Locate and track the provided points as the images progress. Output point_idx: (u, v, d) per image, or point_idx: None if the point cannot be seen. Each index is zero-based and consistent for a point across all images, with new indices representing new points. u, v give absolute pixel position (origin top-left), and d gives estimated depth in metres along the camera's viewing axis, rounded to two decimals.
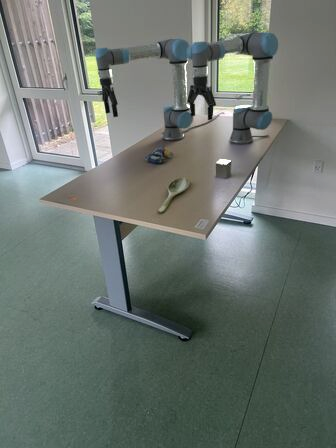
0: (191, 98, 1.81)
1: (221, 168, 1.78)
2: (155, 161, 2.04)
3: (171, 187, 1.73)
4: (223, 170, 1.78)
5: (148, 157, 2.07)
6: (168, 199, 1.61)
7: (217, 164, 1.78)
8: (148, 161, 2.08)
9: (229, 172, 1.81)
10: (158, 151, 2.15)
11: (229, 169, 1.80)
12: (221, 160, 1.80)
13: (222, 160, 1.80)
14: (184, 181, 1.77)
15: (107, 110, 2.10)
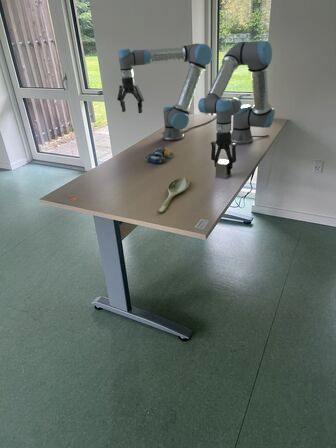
0: None
1: (221, 168, 1.78)
2: (155, 161, 2.04)
3: (171, 187, 1.73)
4: (223, 170, 1.78)
5: (148, 157, 2.07)
6: (168, 199, 1.61)
7: (217, 164, 1.78)
8: (148, 161, 2.08)
9: None
10: (158, 151, 2.15)
11: None
12: (221, 160, 1.80)
13: (222, 160, 1.80)
14: (184, 181, 1.77)
15: (123, 109, 2.20)
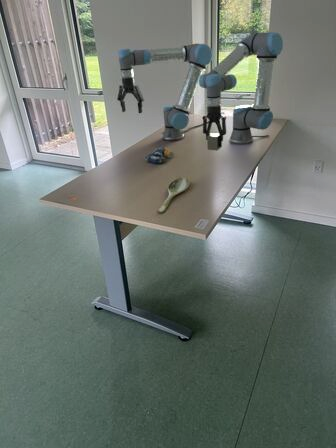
0: (207, 128, 1.91)
1: (213, 141, 1.91)
2: (155, 161, 2.04)
3: (171, 187, 1.73)
4: (214, 142, 1.91)
5: (148, 157, 2.07)
6: (168, 199, 1.61)
7: (208, 137, 1.91)
8: (148, 161, 2.08)
9: None
10: (158, 151, 2.15)
11: None
12: (213, 134, 1.93)
13: (213, 133, 1.93)
14: (184, 181, 1.77)
15: (123, 109, 2.20)
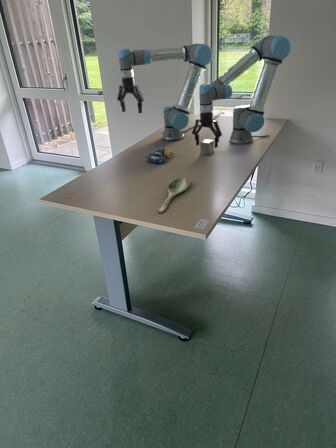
0: (197, 130, 2.09)
1: (205, 147, 2.10)
2: (155, 161, 2.04)
3: (171, 187, 1.73)
4: (206, 148, 2.10)
5: (148, 157, 2.07)
6: (168, 199, 1.61)
7: (201, 143, 2.10)
8: (148, 161, 2.08)
9: (212, 150, 2.13)
10: (158, 151, 2.15)
11: (212, 147, 2.12)
12: (205, 140, 2.12)
13: (206, 140, 2.12)
14: (184, 181, 1.77)
15: (123, 109, 2.20)
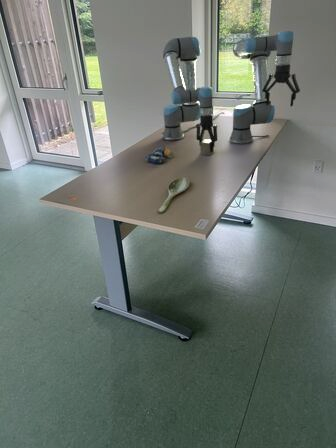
0: (269, 87, 1.87)
1: (205, 147, 2.10)
2: (155, 161, 2.04)
3: (171, 187, 1.73)
4: (206, 148, 2.10)
5: (148, 157, 2.07)
6: (168, 199, 1.61)
7: (201, 143, 2.10)
8: (148, 161, 2.08)
9: None
10: (158, 151, 2.15)
11: None
12: (205, 140, 2.12)
13: (206, 140, 2.12)
14: (184, 181, 1.77)
15: None
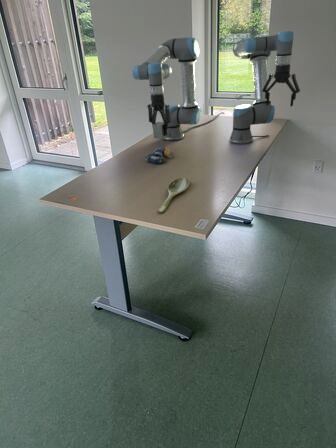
0: (269, 87, 1.87)
1: (158, 129, 1.93)
2: (155, 161, 2.04)
3: (171, 187, 1.73)
4: (159, 131, 1.93)
5: (148, 157, 2.07)
6: (168, 199, 1.61)
7: (154, 125, 1.93)
8: (148, 161, 2.08)
9: None
10: (158, 151, 2.15)
11: None
12: (158, 122, 1.95)
13: (159, 122, 1.96)
14: (184, 181, 1.77)
15: None
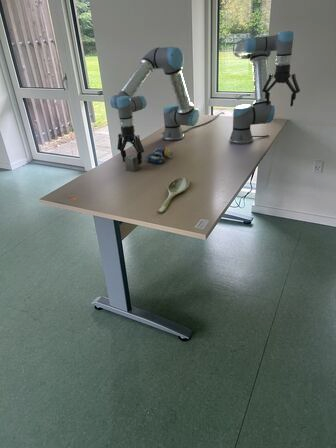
0: (269, 87, 1.87)
1: (129, 162, 1.96)
2: (155, 161, 2.04)
3: (171, 187, 1.73)
4: (130, 164, 1.96)
5: (148, 157, 2.07)
6: (168, 199, 1.61)
7: (125, 158, 1.96)
8: (148, 161, 2.08)
9: (138, 166, 2.00)
10: (158, 151, 2.15)
11: (137, 163, 1.99)
12: (130, 155, 1.99)
13: (131, 155, 1.99)
14: (184, 181, 1.77)
15: (124, 158, 2.01)
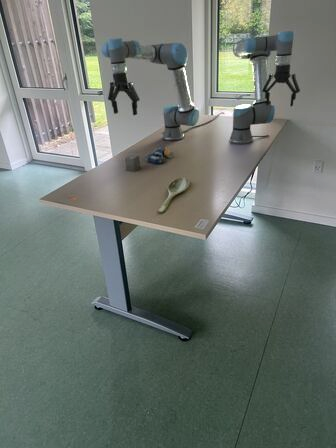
0: (269, 87, 1.87)
1: (129, 162, 1.96)
2: (155, 161, 2.04)
3: (171, 187, 1.73)
4: (130, 164, 1.96)
5: (148, 157, 2.07)
6: (168, 199, 1.61)
7: (125, 158, 1.96)
8: (148, 161, 2.08)
9: (138, 166, 2.00)
10: (158, 151, 2.15)
11: (137, 163, 1.99)
12: (130, 155, 1.99)
13: (131, 155, 1.99)
14: (184, 181, 1.77)
15: (115, 110, 1.87)
